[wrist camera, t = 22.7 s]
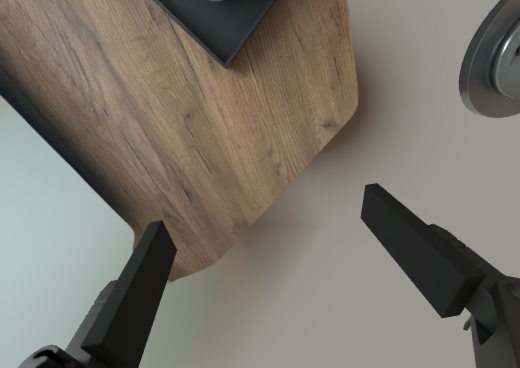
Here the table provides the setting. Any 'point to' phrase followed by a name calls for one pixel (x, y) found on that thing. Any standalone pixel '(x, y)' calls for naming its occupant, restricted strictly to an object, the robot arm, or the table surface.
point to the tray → (218, 23)
